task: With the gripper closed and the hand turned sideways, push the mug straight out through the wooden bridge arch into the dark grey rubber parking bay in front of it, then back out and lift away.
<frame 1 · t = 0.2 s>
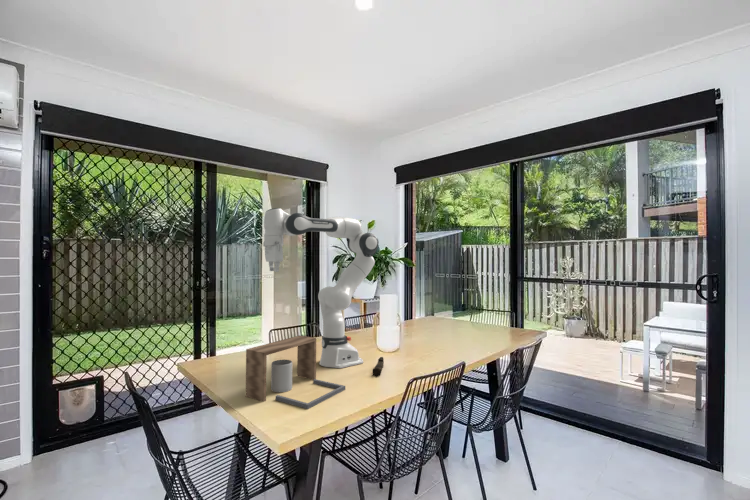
hand: (274, 271, 177), 48 cm above the table, tool pointing down, fingers open, 8 cm apart
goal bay: (310, 394, 149), on the table
wooden bridge arch: (283, 387, 157), on the table
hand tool: (378, 371, 182), on the table
mug: (283, 387, 157), on the table
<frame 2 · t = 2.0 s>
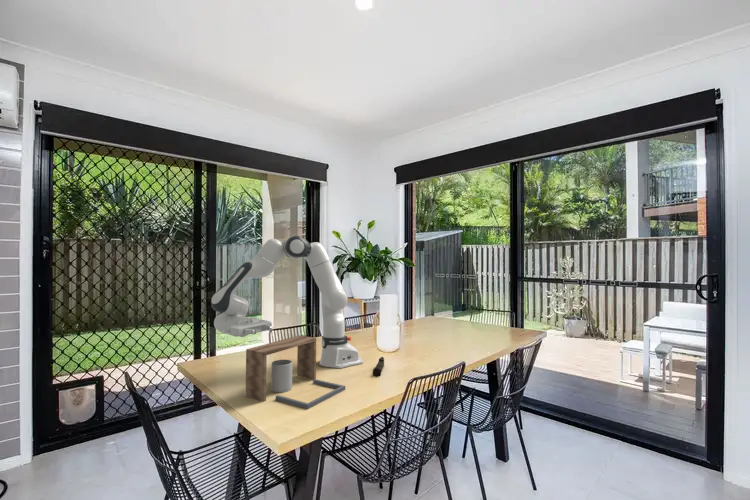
hand: (263, 330, 163), 22 cm above the table, tool horizontal, fingers open, 8 cm apart
nothing on the table moved.
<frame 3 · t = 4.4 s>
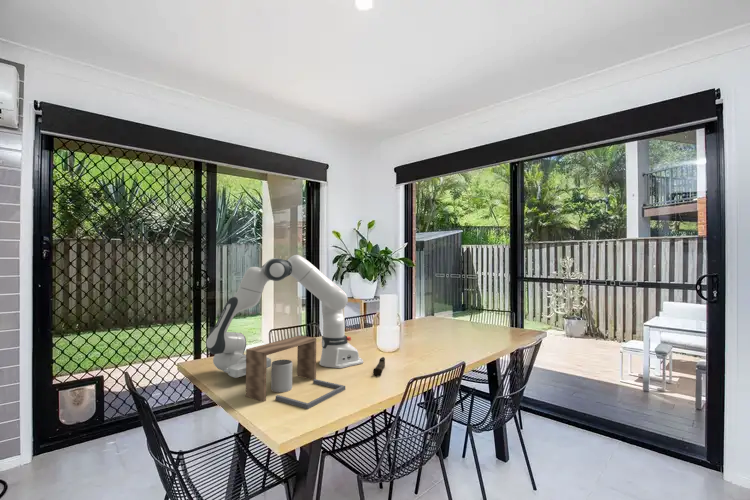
hand: (262, 369, 163), 5 cm above the table, tool horizontal, fingers closed
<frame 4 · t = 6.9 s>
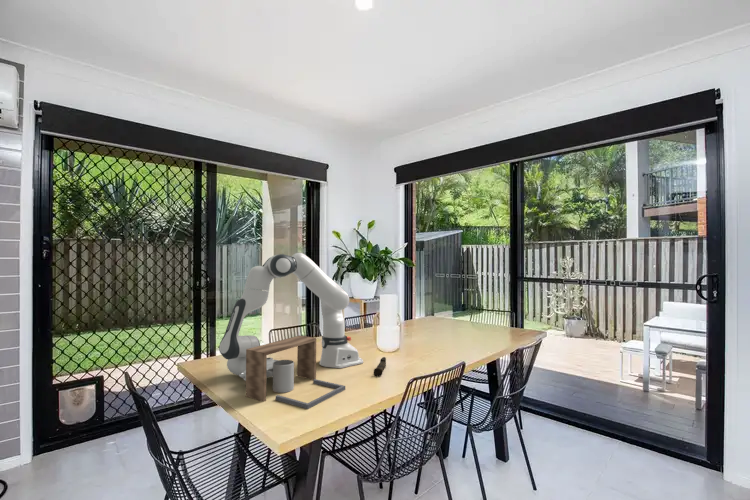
hand: (278, 374, 158), 5 cm above the table, tool horizontal, fingers closed
mug: (284, 388, 156), on the table, touching gripper
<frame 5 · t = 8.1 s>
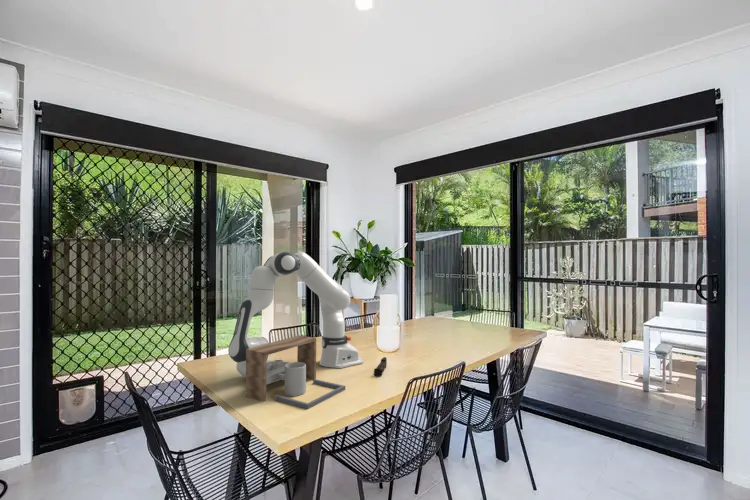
hand: (290, 377, 155), 5 cm above the table, tool horizontal, fingers closed, pressing on mug
mug: (296, 391, 153), on the table, touching gripper
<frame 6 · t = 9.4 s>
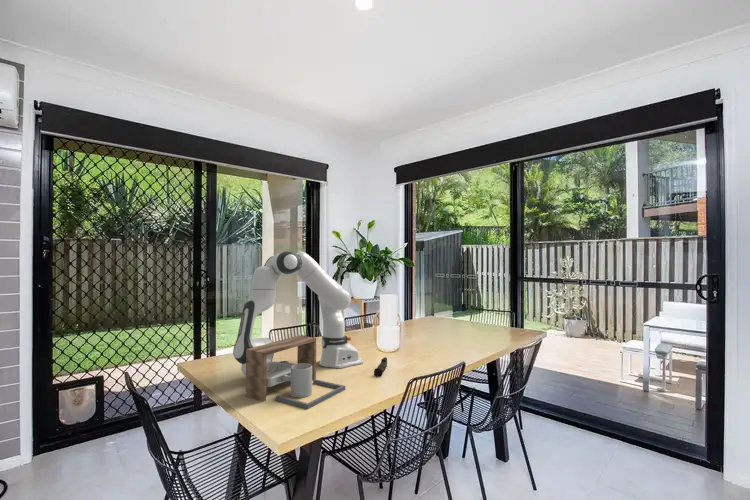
hand: (296, 378, 153), 5 cm above the table, tool horizontal, fingers closed
mug: (302, 392, 151), on the table, touching gripper
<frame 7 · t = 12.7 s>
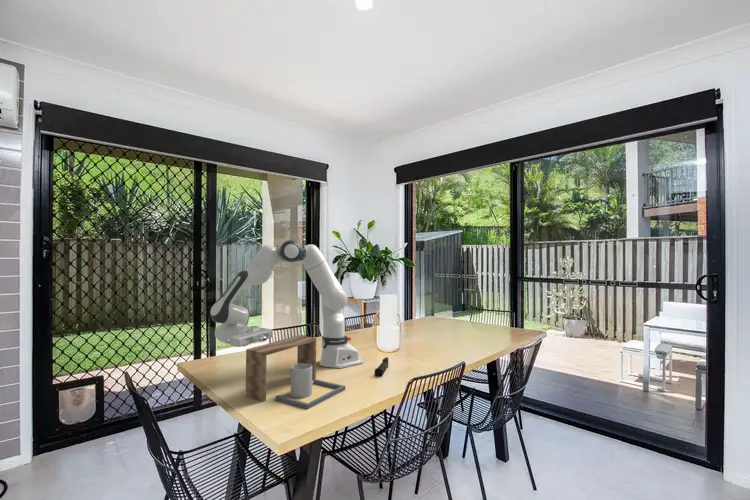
hand: (264, 339, 164), 19 cm above the table, tool horizontal, fingers closed
mug: (302, 392, 151), on the table
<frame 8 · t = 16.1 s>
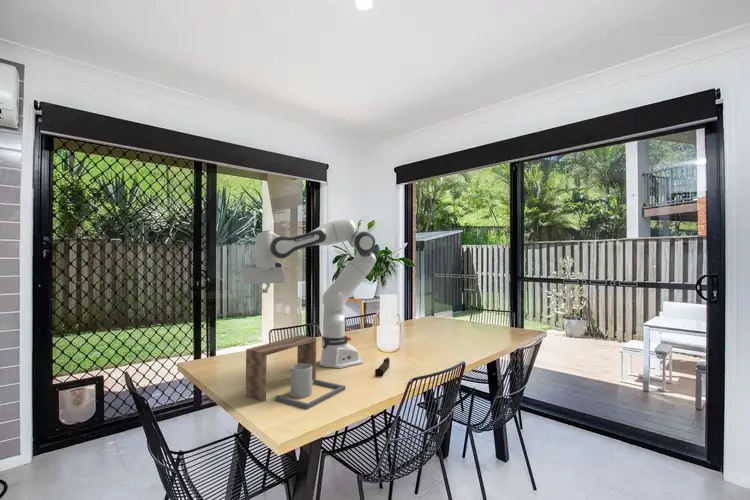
hand: (264, 292, 181), 37 cm above the table, tool pointing down, fingers closed
at the end: mug moved 10.7 cm from its start; mug 4.3 cm from the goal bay (horizontally); mug tilted 0° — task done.
